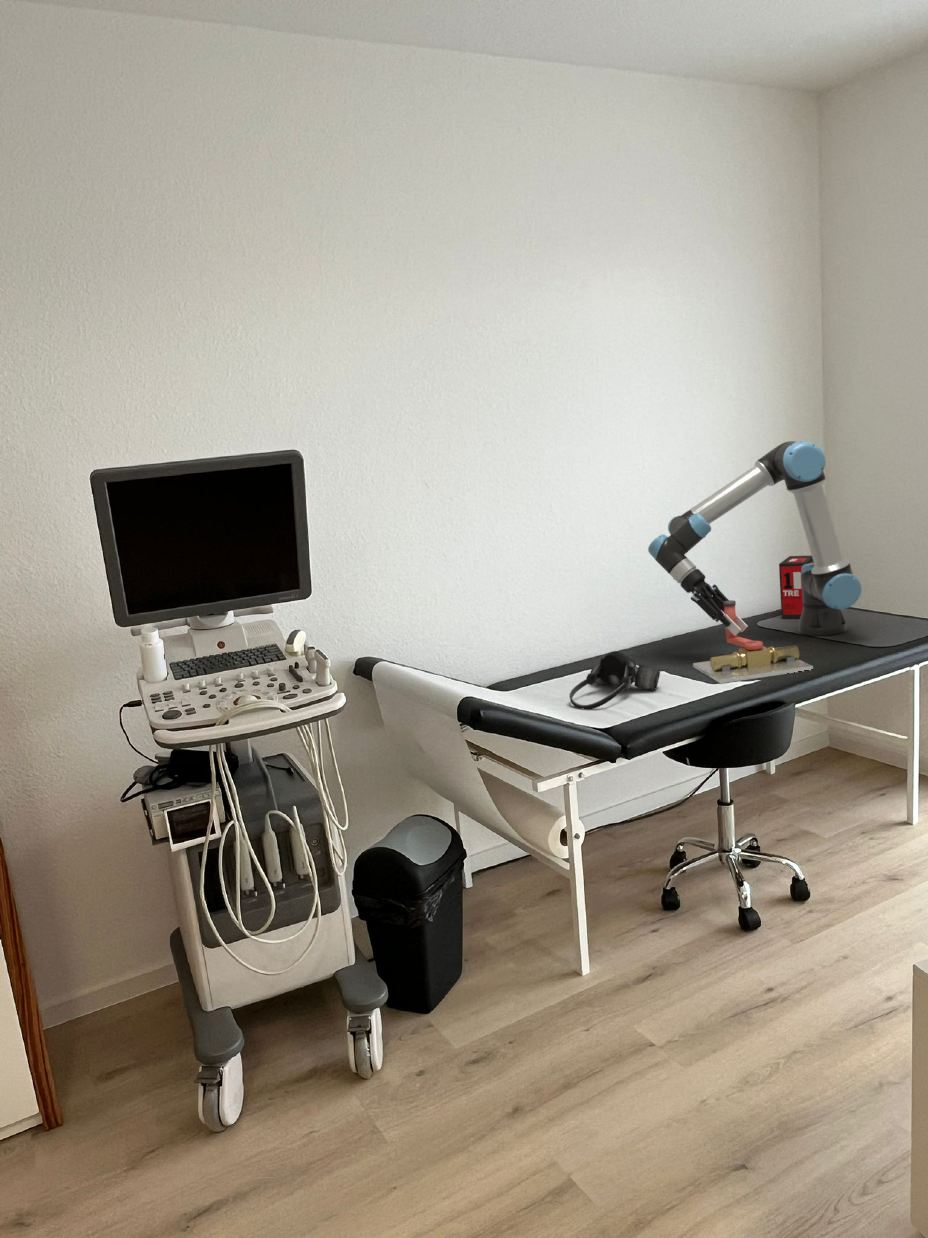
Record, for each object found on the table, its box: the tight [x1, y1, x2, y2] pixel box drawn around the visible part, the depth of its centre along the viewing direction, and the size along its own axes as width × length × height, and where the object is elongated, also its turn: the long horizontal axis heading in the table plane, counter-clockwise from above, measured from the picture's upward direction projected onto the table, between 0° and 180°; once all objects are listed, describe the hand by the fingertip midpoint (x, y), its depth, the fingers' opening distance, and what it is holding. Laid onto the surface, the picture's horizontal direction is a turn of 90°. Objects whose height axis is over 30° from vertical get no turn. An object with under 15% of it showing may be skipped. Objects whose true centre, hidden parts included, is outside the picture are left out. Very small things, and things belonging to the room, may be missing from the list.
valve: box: [692, 644, 814, 684], centre depth 289 cm, size 28×21×6 cm
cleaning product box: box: [778, 555, 814, 620], centre depth 351 cm, size 16×9×20 cm, turn 149°
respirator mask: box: [568, 650, 661, 710], centre depth 279 cm, size 22×24×17 cm
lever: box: [723, 599, 764, 650], centre depth 292 cm, size 15×5×12 cm, turn 20°
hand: (741, 630), depth 295 cm, fingers open, 4 cm apart
